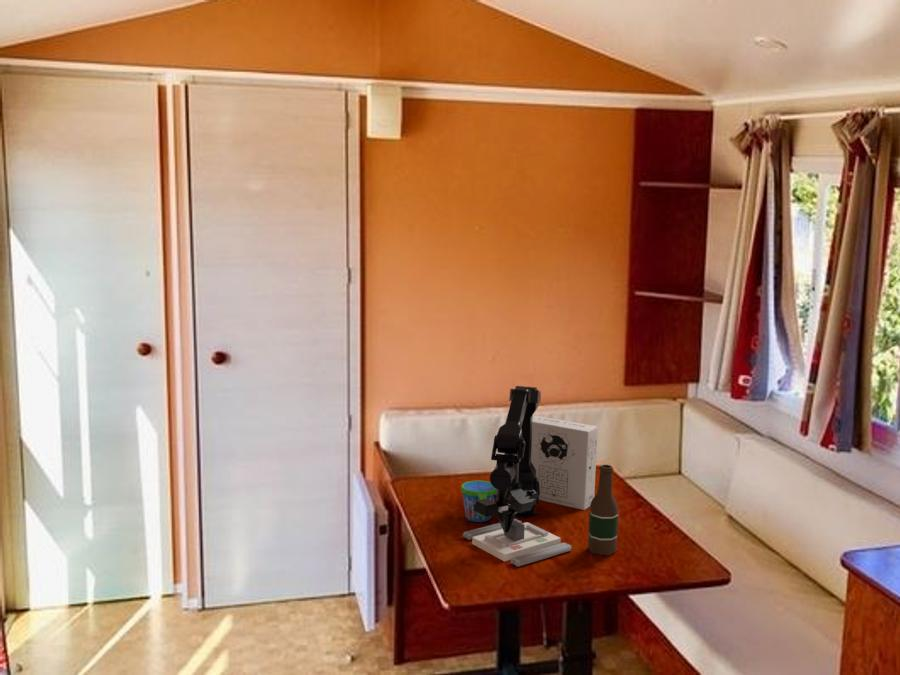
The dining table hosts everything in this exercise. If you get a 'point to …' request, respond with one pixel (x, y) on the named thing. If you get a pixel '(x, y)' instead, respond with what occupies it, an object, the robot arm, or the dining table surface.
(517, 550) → the breaker panel
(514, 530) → the switch knob
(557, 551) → the grey twin rods
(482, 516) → the snack cup
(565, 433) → the cereal box
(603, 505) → the beer bottle
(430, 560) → the dining table surface
